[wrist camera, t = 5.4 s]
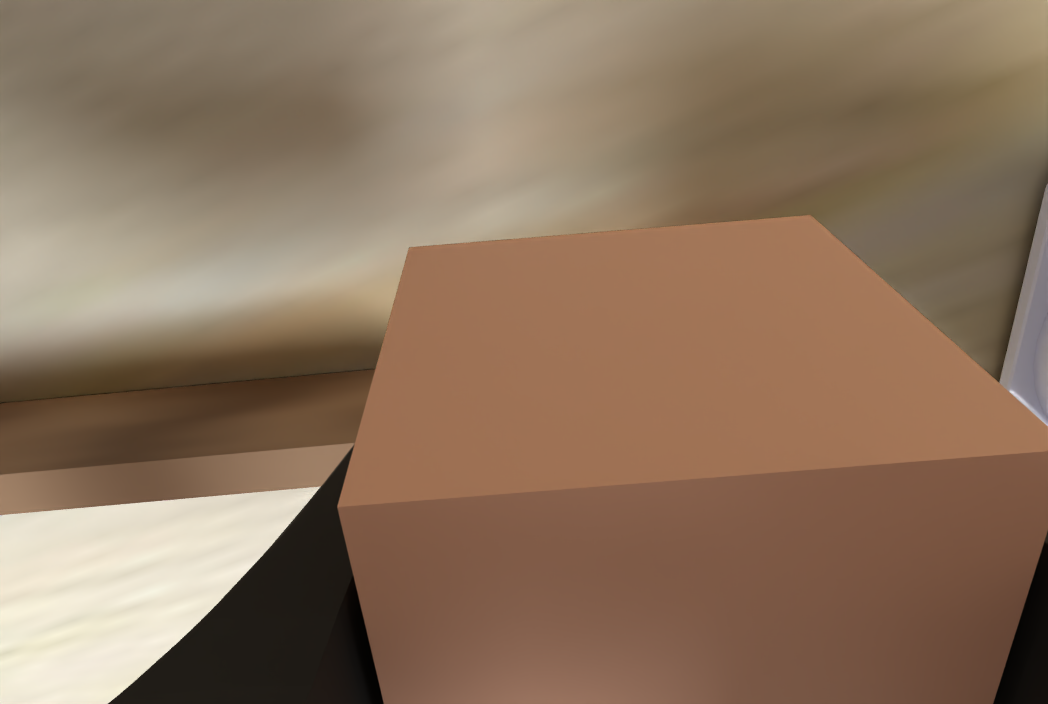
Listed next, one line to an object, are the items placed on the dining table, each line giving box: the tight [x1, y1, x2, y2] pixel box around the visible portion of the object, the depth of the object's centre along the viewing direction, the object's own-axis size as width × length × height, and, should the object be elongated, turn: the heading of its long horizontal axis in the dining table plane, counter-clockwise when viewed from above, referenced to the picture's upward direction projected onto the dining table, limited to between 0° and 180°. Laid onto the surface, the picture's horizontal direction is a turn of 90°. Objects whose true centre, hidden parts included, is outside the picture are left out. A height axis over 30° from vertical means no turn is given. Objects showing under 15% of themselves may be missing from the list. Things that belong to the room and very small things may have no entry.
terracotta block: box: [337, 215, 1048, 704], centre depth 9 cm, size 5×5×5 cm
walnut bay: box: [0, 369, 375, 515], centre depth 14 cm, size 14×13×3 cm
